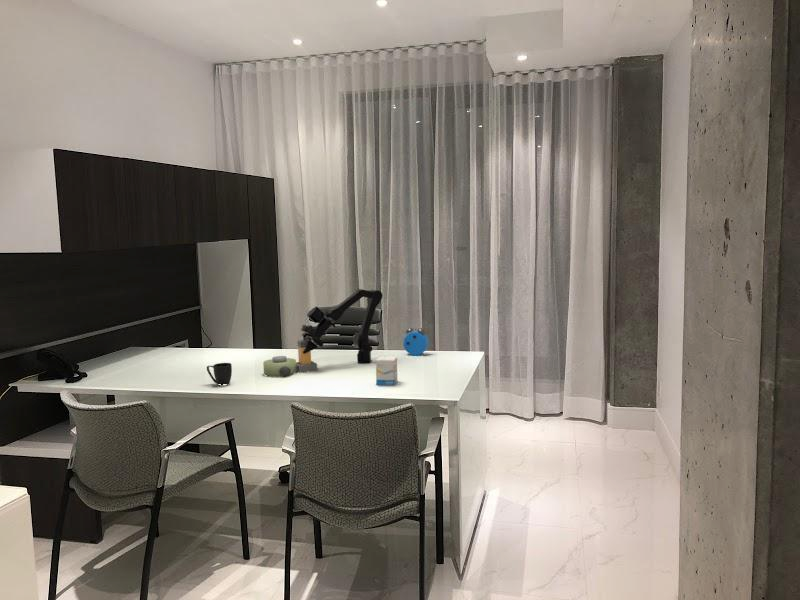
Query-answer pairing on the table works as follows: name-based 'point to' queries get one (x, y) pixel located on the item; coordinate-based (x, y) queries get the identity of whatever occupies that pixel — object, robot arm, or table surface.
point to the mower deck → (285, 366)
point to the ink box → (386, 370)
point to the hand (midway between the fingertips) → (301, 352)
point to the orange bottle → (303, 357)
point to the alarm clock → (415, 341)
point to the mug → (221, 373)
